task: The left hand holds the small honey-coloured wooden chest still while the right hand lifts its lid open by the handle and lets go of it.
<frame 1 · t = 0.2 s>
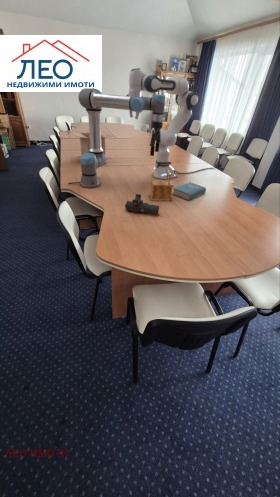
left hand: (154, 153, 166), 28 cm above the table, tool pointing down, fingers open, 13 cm apart
right hand: (133, 118, 170), 48 cm above the table, tool pointing down, fingers open, 8 cm apart
lid: (162, 178, 161), point 15 cm above the table, hinge at 0.0°
laser sight: (141, 212, 149), on the table
box: (93, 161, 237), on the table
book: (188, 194, 179), on the table
chest: (159, 197, 170), on the table
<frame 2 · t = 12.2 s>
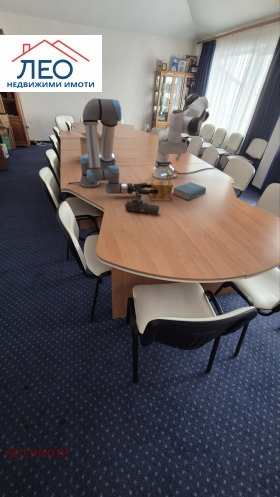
left hand: (156, 189, 165), 7 cm above the table, tool horizontal, fingers closed on chest, 10 cm apart
right hand: (170, 160, 154), 28 cm above the table, tool pointing down, fingers open, 8 cm apart
chest: (159, 197, 170), on the table, touching left hand
everything else where it was.
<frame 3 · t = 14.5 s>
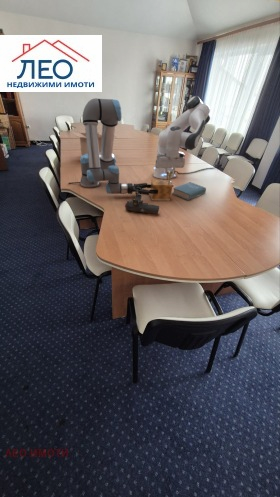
left hand: (156, 189, 165), 7 cm above the table, tool horizontal, fingers closed on chest, 10 cm apart
right hand: (169, 173, 159), 18 cm above the table, tool pointing down, fingers closed on lid, 2 cm apart
lid: (162, 178, 161), point 15 cm above the table, hinge at -0.1°, touching right hand
chest: (159, 197, 170), on the table, touching left hand
everything else where it was.
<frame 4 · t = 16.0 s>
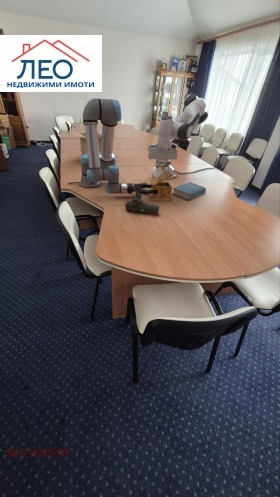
left hand: (156, 189, 165), 7 cm above the table, tool horizontal, fingers closed on chest, 10 cm apart
right hand: (161, 165, 155), 24 cm above the table, tool pointing down, fingers closed
lid: (158, 173, 158), point 18 cm above the table, hinge at 32.2°, touching right hand
chest: (159, 197, 170), on the table, touching left hand
everything else where it was.
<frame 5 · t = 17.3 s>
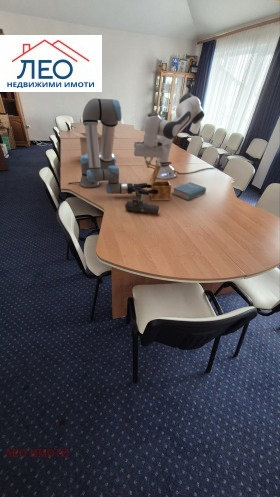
left hand: (156, 189, 165), 7 cm above the table, tool horizontal, fingers closed on chest, 10 cm apart
right hand: (147, 163, 153), 25 cm above the table, tool pointing down, fingers closed, pressing on lid
lid: (150, 172, 157), point 19 cm above the table, hinge at 70.4°, touching right hand
chest: (160, 197, 169), on the table, touching left hand
everything else where it was.
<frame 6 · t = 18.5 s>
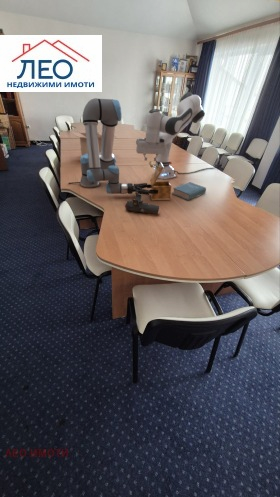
left hand: (156, 189, 165), 7 cm above the table, tool horizontal, fingers closed on chest, 10 cm apart
right hand: (150, 160, 152), 27 cm above the table, tool pointing down, fingers open, 5 cm apart
lid: (152, 171, 157), point 20 cm above the table, hinge at 61.5°
chest: (160, 197, 169), on the table, touching left hand
everything else where it was.
when the left hand's fingers open (7 cm above the table, at t = 21.4 s): chest stays where it is, on the table.
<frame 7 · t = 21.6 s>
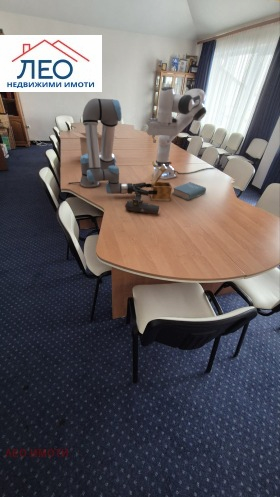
left hand: (155, 188, 165), 7 cm above the table, tool horizontal, fingers open, 12 cm apart
right hand: (161, 142, 146), 39 cm above the table, tool pointing down, fingers open, 8 cm apart
lid: (154, 171, 158), point 20 cm above the table, hinge at 58.2°
chest: (159, 197, 170), on the table
everything else where it was.
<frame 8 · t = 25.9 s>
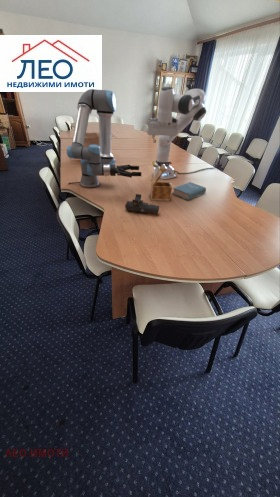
left hand: (140, 171, 156), 20 cm above the table, tool horizontal, fingers open, 13 cm apart
right hand: (161, 142, 146), 39 cm above the table, tool pointing down, fingers open, 8 cm apart
nothing on the table moved.
at the end: lid at +58° (first picture: +0°); the left hand is holding nothing; the right hand is holding nothing; chest tilted 0°; chest never tilted more than 4° during the clip; chest moved 0.1 cm from its start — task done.
